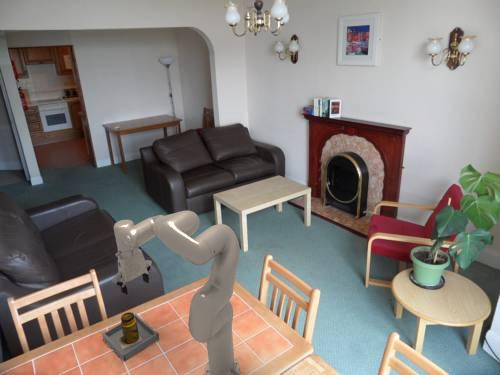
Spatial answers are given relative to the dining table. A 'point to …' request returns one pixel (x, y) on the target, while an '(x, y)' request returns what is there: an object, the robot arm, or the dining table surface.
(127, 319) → the condiment
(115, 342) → the tray
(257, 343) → the dining table surface
